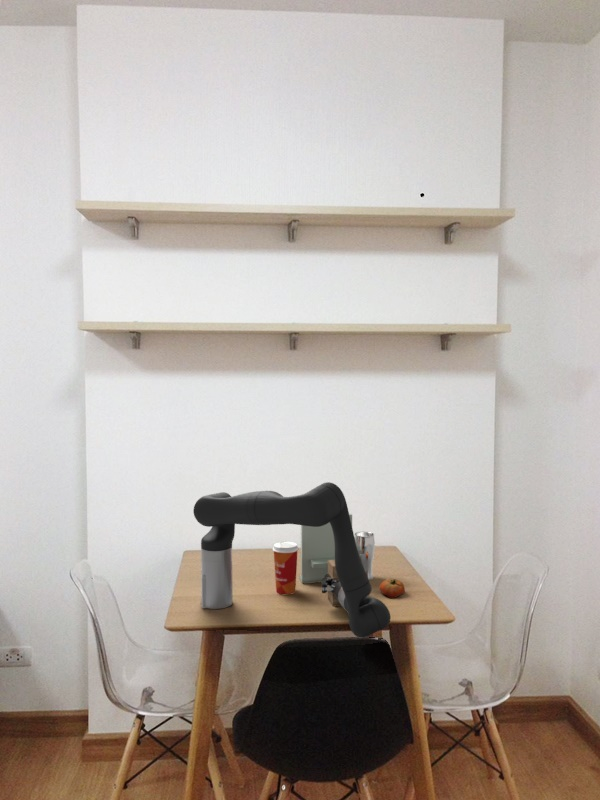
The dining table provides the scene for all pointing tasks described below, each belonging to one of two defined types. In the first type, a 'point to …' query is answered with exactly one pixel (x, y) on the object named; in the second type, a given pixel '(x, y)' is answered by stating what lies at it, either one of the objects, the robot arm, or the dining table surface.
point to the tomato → (392, 588)
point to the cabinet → (333, 574)
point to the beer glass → (366, 550)
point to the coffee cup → (285, 566)
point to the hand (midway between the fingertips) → (335, 576)
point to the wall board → (316, 552)
